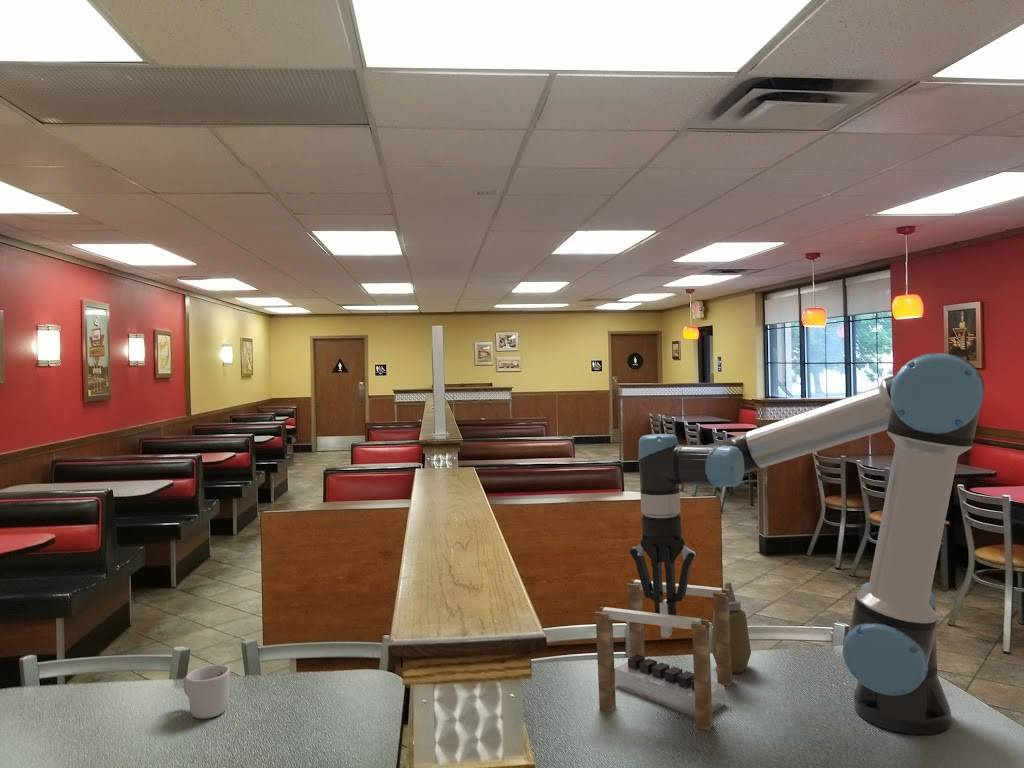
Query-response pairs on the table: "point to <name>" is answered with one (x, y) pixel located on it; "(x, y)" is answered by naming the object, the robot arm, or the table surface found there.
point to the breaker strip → (663, 684)
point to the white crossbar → (690, 589)
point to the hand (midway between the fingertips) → (666, 634)
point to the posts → (699, 653)
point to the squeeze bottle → (735, 634)
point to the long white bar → (651, 618)
